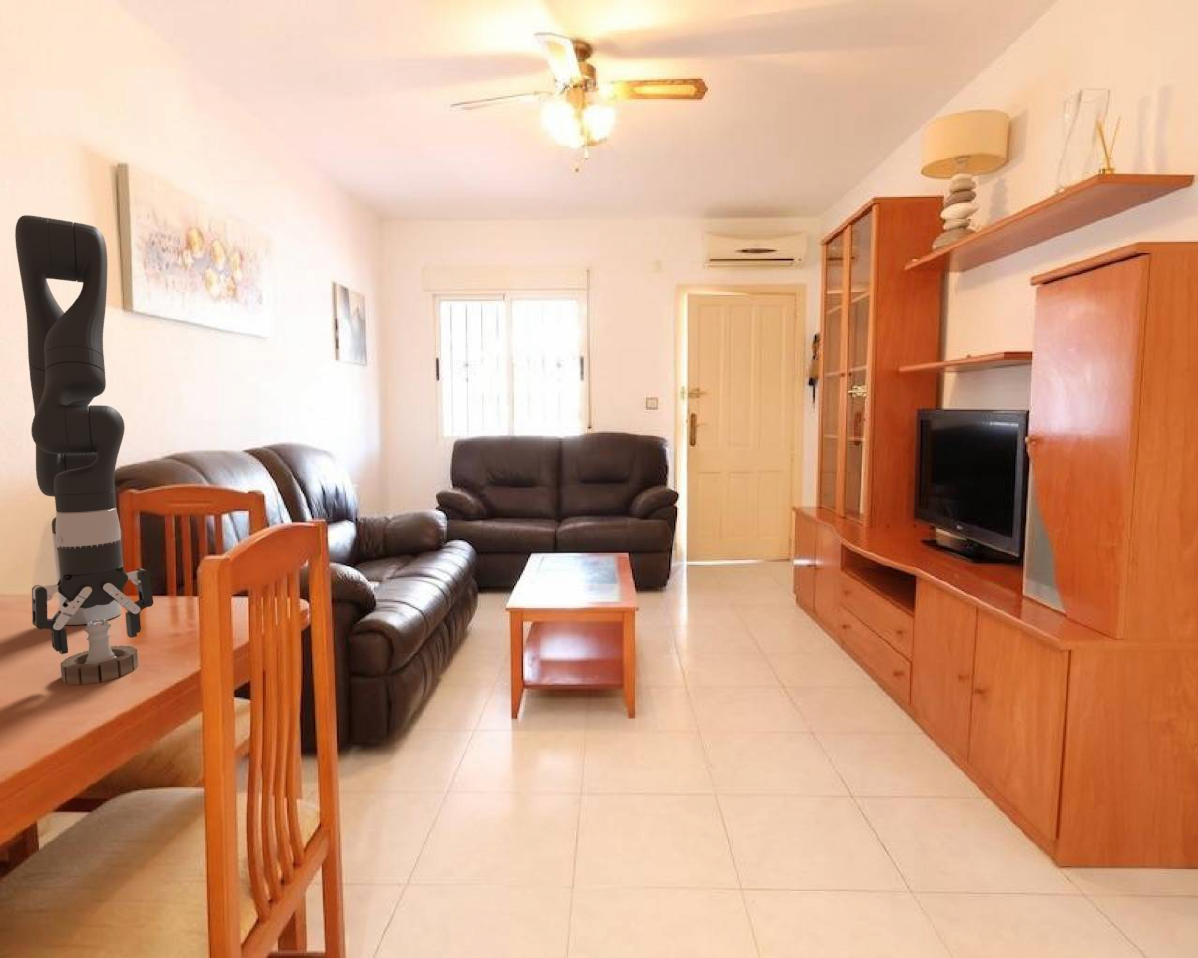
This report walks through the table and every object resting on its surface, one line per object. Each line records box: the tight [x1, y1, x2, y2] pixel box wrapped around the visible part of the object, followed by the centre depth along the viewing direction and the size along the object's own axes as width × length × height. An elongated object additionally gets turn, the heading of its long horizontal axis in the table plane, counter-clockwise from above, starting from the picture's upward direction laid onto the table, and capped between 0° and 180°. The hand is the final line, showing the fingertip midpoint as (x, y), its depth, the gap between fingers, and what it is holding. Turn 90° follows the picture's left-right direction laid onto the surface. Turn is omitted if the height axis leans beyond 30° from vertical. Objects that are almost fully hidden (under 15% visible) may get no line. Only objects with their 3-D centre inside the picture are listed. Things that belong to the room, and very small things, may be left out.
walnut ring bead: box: [60, 645, 139, 686], centre depth 98 cm, size 9×9×2 cm
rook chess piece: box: [83, 619, 117, 664], centre depth 98 cm, size 4×4×8 cm
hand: (98, 644), depth 97 cm, fingers open, 8 cm apart
